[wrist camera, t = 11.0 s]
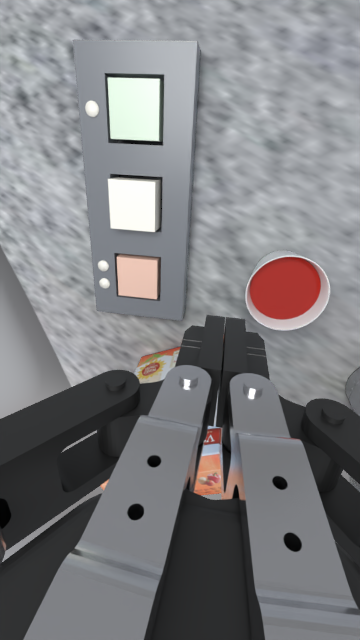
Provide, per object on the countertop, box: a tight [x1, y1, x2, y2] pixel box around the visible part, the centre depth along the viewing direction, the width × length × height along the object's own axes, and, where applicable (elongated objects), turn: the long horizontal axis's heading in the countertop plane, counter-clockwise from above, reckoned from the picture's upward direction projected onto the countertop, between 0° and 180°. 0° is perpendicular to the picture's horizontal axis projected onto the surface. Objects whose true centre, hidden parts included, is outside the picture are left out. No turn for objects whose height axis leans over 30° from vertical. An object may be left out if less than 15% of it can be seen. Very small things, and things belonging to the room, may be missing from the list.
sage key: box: [108, 78, 164, 142], centre depth 33 cm, size 5×5×3 cm
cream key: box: [108, 177, 161, 232], centre depth 36 cm, size 5×5×3 cm
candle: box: [245, 250, 330, 331], centre depth 38 cm, size 9×9×6 cm
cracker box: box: [100, 337, 224, 495], centre depth 40 cm, size 14×6×21 cm, turn 112°
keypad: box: [73, 40, 201, 321], centre depth 37 cm, size 12×29×3 cm, turn 177°
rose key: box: [117, 254, 161, 299], centre depth 41 cm, size 5×5×3 cm
